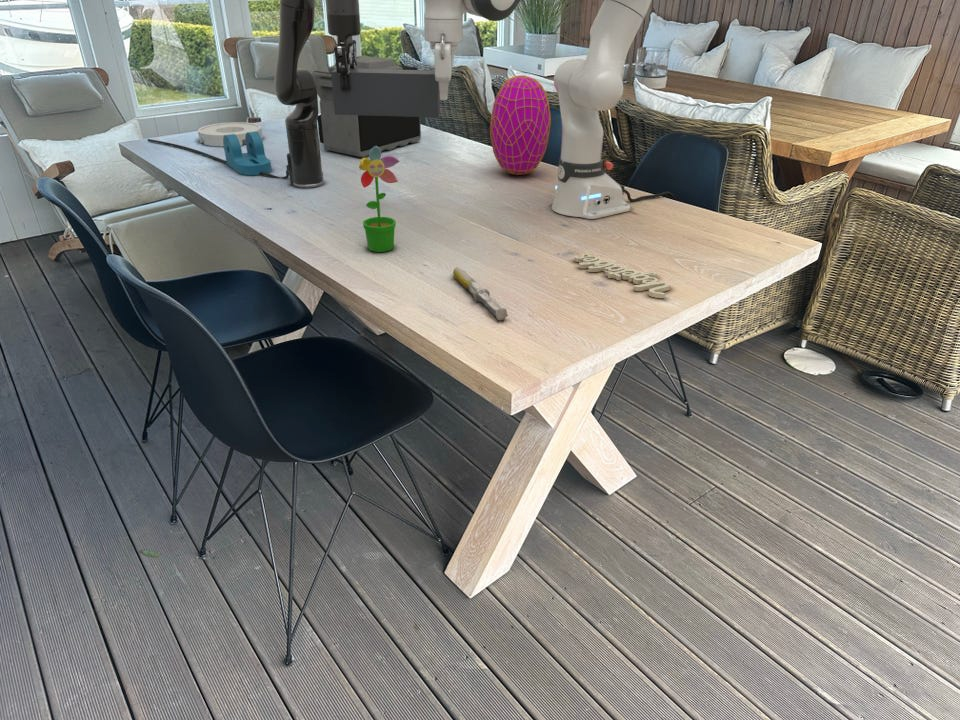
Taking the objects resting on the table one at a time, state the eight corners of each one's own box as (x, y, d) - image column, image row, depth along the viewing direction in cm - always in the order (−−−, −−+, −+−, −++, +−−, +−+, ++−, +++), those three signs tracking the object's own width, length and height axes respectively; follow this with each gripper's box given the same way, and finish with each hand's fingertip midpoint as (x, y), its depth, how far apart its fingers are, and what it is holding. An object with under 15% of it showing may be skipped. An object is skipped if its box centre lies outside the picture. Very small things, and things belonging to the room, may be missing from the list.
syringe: (449, 274, 155) (449, 263, 153) (465, 272, 156) (464, 260, 154) (490, 323, 135) (491, 310, 133) (508, 319, 136) (508, 307, 134)
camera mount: (227, 164, 233) (221, 132, 227) (257, 160, 238) (252, 129, 233) (244, 176, 220) (239, 143, 215) (276, 172, 225) (271, 139, 220)
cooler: (383, 133, 276) (378, 52, 261) (425, 141, 265) (422, 56, 250) (314, 150, 251) (304, 61, 235) (358, 160, 240) (350, 67, 224)
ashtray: (212, 132, 275) (211, 121, 273) (270, 133, 274) (268, 122, 272) (190, 145, 255) (187, 134, 253) (251, 147, 254) (250, 135, 252)
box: (334, 114, 168) (330, 71, 163) (339, 109, 173) (336, 68, 167) (438, 117, 167) (437, 74, 162) (440, 112, 172) (439, 70, 167)
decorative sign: (686, 282, 150) (660, 295, 144) (686, 286, 150) (659, 300, 144) (592, 249, 166) (565, 259, 160) (592, 253, 167) (565, 263, 161)
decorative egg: (522, 185, 216) (526, 83, 200) (477, 173, 227) (478, 76, 212) (559, 173, 228) (566, 76, 213) (514, 162, 239) (517, 70, 224)
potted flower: (369, 256, 164) (361, 149, 151) (358, 245, 170) (349, 142, 157) (406, 249, 167) (401, 145, 155) (394, 239, 173) (388, 138, 161)
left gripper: (353, 15, 152) (358, 95, 161) (364, 10, 165) (369, 84, 173) (319, 14, 152) (326, 94, 161) (333, 9, 165) (339, 83, 173)
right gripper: (456, 37, 149) (457, 104, 156) (457, 28, 166) (458, 89, 173) (427, 36, 149) (429, 104, 156) (431, 28, 166) (433, 88, 173)
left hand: (348, 89), depth 167 cm, fingers closed on box, 5 cm apart
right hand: (444, 96), depth 165 cm, fingers open, 8 cm apart
